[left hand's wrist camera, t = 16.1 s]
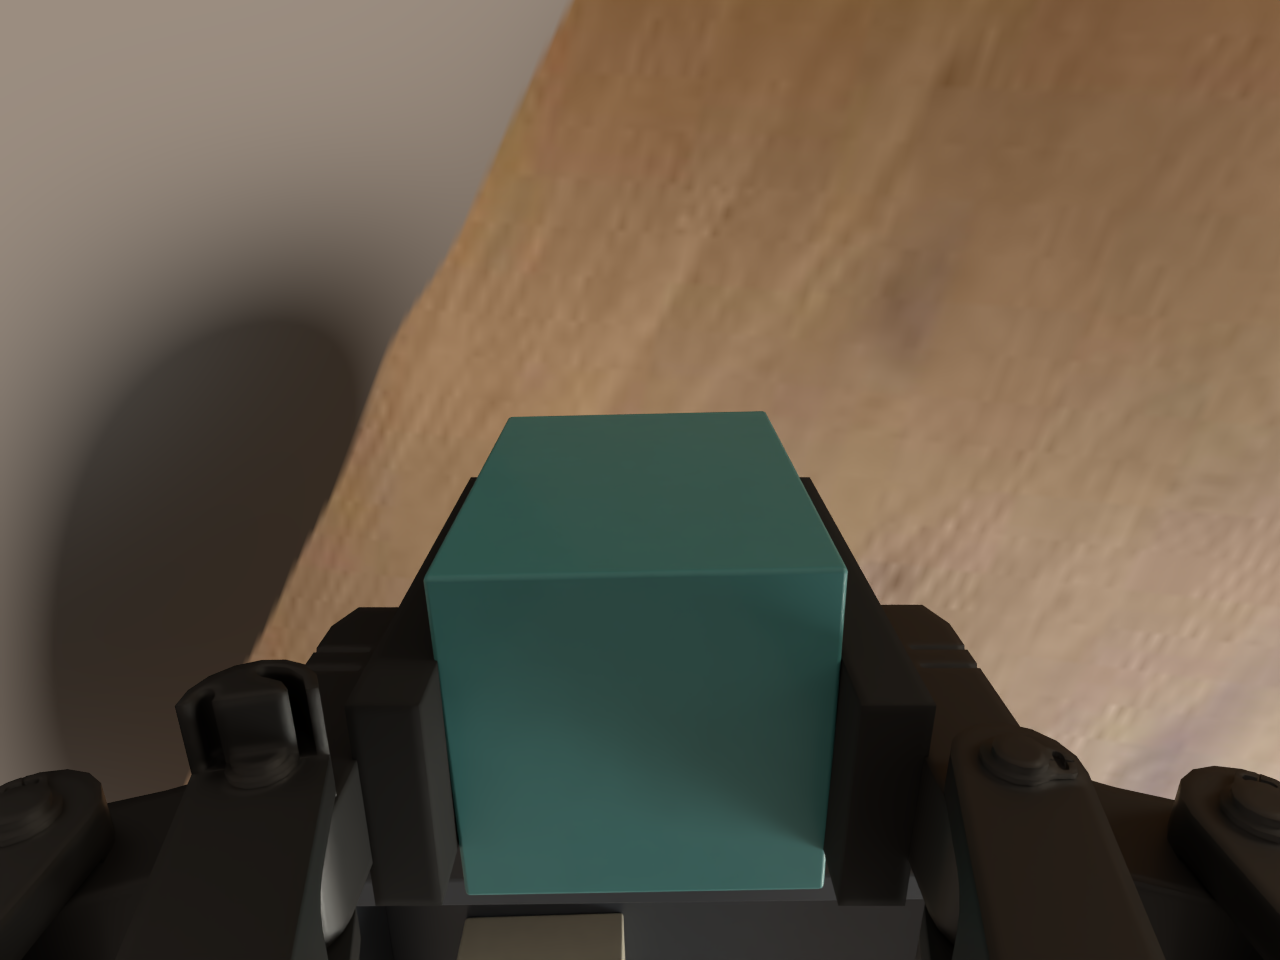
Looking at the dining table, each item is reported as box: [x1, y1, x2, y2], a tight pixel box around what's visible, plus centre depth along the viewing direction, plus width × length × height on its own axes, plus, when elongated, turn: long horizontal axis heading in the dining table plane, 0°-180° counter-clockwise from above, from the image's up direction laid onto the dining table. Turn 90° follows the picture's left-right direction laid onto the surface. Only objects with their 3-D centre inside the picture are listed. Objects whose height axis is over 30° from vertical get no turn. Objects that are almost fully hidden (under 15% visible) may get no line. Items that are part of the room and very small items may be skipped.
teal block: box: [423, 411, 848, 895], centre depth 12 cm, size 4×4×6 cm
